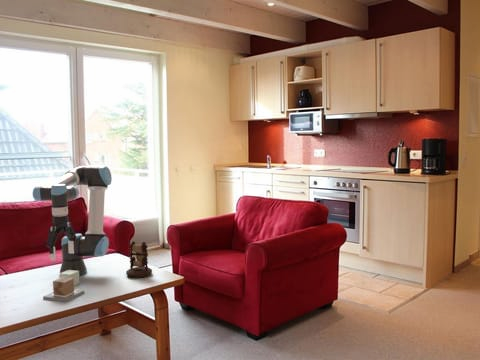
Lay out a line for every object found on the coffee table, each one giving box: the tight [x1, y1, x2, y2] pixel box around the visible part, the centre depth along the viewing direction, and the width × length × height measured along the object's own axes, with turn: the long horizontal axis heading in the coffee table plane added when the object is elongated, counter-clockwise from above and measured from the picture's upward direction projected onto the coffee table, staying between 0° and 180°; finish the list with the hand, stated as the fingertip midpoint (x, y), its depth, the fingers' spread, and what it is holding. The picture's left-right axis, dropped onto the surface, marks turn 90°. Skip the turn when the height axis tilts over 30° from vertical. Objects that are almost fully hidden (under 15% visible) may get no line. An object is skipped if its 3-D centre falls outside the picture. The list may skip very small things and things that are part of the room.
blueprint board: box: [42, 288, 85, 303], centre depth 239 cm, size 14×14×2 cm
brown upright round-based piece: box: [125, 240, 153, 279], centre depth 273 cm, size 15×15×20 cm
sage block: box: [59, 270, 80, 286], centre depth 258 cm, size 7×7×7 cm
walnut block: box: [52, 277, 75, 296], centre depth 238 cm, size 7×7×7 cm
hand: (62, 256), depth 237 cm, fingers open, 13 cm apart
